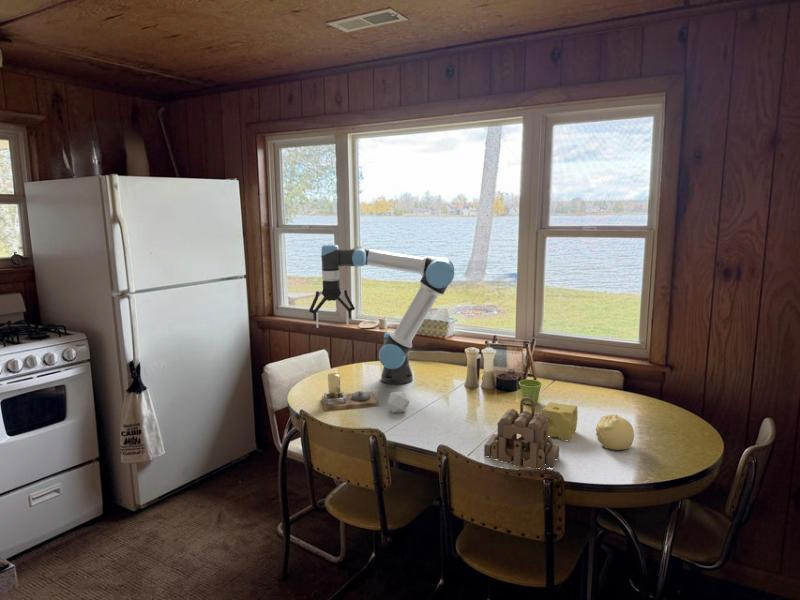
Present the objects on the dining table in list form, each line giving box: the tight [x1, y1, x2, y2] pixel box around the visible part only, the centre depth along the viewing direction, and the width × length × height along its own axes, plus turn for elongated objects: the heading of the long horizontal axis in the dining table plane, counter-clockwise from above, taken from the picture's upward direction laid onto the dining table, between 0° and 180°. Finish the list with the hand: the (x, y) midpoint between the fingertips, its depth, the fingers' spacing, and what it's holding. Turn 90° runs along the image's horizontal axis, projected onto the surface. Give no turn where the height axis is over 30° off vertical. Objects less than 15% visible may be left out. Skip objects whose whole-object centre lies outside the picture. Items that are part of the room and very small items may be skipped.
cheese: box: [541, 401, 579, 442], centre depth 191 cm, size 10×11×10 cm
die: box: [386, 391, 410, 414], centre depth 215 cm, size 8×9×10 cm
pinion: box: [327, 372, 342, 399], centre depth 224 cm, size 5×5×11 cm
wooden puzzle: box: [483, 397, 560, 470], centre depth 173 cm, size 22×15×19 cm, turn 62°
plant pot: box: [518, 379, 543, 406], centre depth 222 cm, size 9×9×9 cm
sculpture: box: [595, 413, 635, 451], centre depth 180 cm, size 11×12×11 cm
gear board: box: [321, 390, 379, 412], centre depth 226 cm, size 22×14×4 cm, turn 102°
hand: (332, 326), depth 241 cm, fingers open, 13 cm apart
